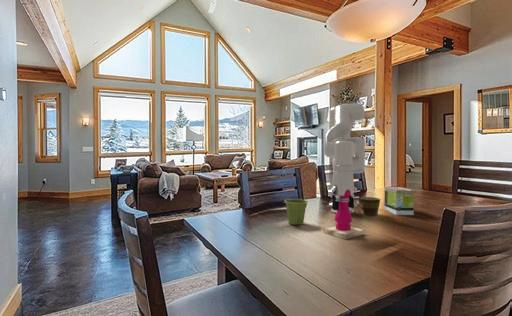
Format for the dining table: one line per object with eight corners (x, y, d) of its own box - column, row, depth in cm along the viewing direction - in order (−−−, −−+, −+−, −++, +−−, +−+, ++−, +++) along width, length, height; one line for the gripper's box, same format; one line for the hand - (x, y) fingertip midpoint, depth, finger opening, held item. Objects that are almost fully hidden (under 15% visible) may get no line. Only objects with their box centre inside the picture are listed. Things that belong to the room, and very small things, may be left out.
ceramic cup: (376, 214, 159) (376, 197, 159) (382, 218, 150) (382, 200, 149) (353, 214, 161) (353, 196, 161) (357, 218, 151) (357, 199, 151)
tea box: (414, 217, 153) (414, 190, 153) (395, 217, 154) (395, 190, 153) (400, 211, 168) (401, 186, 168) (383, 211, 169) (383, 186, 168)
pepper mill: (340, 231, 119) (340, 184, 118) (331, 227, 126) (331, 182, 125) (355, 230, 121) (355, 183, 120) (345, 226, 128) (345, 181, 127)
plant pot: (307, 227, 134) (307, 203, 134) (283, 225, 137) (282, 202, 136) (308, 221, 146) (308, 199, 146) (285, 220, 148) (285, 198, 148)
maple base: (323, 232, 125) (323, 227, 125) (341, 228, 131) (341, 224, 131) (345, 239, 115) (345, 234, 115) (363, 234, 121) (363, 229, 121)
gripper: (349, 168, 130) (349, 205, 131) (322, 169, 121) (322, 209, 121) (363, 169, 124) (363, 207, 125) (336, 170, 115) (336, 212, 115)
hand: (343, 208), depth 123 cm, fingers open, 9 cm apart
